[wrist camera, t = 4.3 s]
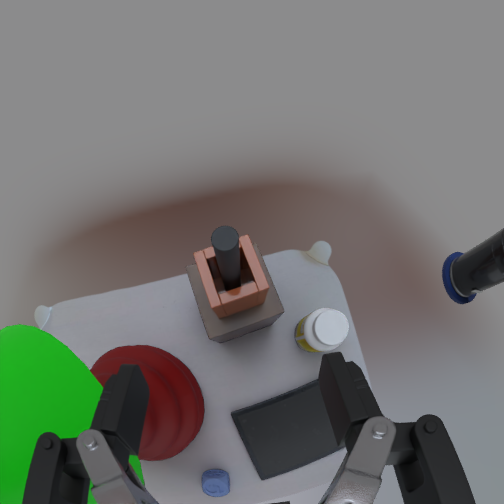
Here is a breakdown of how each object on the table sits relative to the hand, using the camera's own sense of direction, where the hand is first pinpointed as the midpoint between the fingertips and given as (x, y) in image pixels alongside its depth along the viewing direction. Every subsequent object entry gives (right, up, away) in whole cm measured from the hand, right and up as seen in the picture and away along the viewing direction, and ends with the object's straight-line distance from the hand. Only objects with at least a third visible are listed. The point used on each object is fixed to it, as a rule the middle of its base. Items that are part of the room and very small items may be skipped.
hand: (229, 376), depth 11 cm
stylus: (-1, +1, +20) cm, 20 cm away
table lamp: (-17, -20, +27) cm, 37 cm away
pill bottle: (+11, -8, +32) cm, 35 cm away
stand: (-2, -4, +33) cm, 34 cm away
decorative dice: (-5, -33, +23) cm, 40 cm away
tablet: (+8, -23, +26) cm, 36 cm away
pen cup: (-1, +1, +20) cm, 21 cm away
